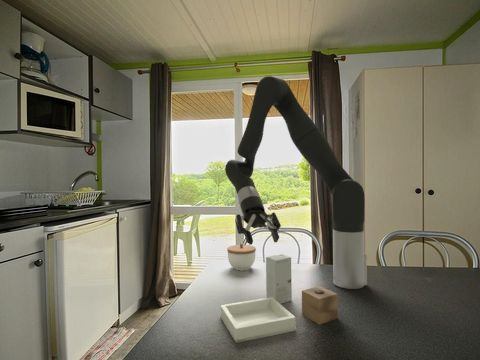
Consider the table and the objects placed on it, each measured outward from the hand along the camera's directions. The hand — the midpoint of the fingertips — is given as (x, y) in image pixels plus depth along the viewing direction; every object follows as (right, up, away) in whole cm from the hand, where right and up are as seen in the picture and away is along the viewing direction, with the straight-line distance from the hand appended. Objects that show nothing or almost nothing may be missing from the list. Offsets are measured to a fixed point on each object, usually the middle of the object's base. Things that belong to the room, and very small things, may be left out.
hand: (264, 242), depth 91 cm
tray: (-4, -14, -22) cm, 27 cm away
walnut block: (+12, -14, -19) cm, 27 cm away
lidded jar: (-7, -14, +20) cm, 26 cm away
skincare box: (+3, -14, -9) cm, 17 cm away
